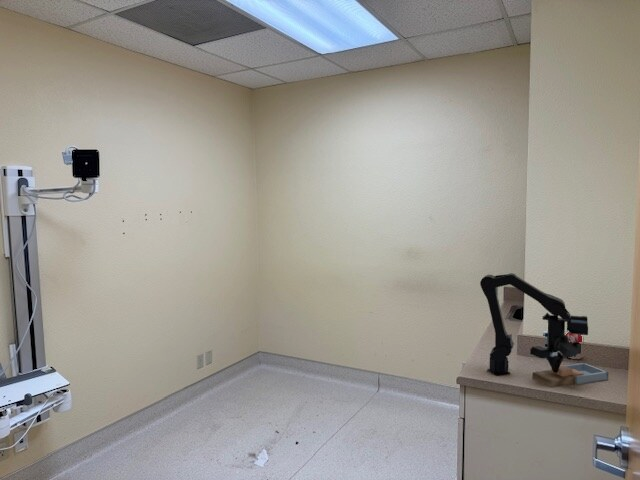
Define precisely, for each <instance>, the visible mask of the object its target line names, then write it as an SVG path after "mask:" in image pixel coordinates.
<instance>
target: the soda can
mask: <svg viewBox="0 0 640 480" xmlns="http://www.w3.org/2000/svg"><path fill="white" fill-rule="evenodd" d="M566 332H568V331H567V330H566ZM565 334H566V333H565ZM566 336H567V337H568V341H570V342H573V343H574V342H582V336H581V335H580V334H570V332H568V333H567V334H566Z"/></svg>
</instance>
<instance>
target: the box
mask: <svg viewBox="0 0 640 480" xmlns="http://www.w3.org/2000/svg"><path fill="white" fill-rule="evenodd" d="M564 366H566V367H569V368H571V369H574V370H577V371H579V372H582V373H584V375H578V376H575V384H574V385H576V386H578V385H583V384H584V385H587V384H591V383H597V382H605V381H608V380H609V371H606V370H603V369H601V368H598V367H596V366H593V365H591V364H589V363H585V362H580V363H579V362H578V363H573V364H566V365H565V364H564Z"/></svg>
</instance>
